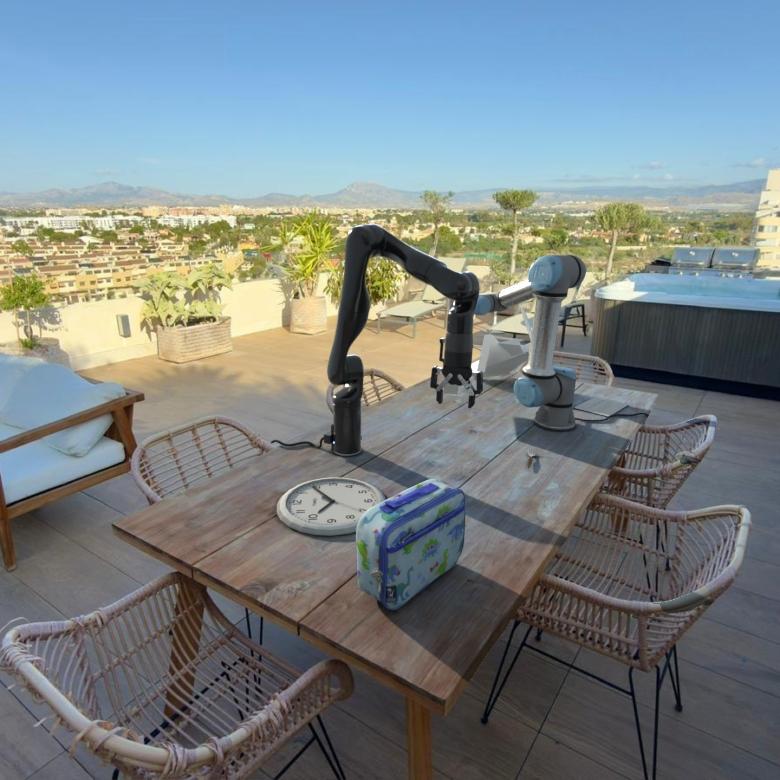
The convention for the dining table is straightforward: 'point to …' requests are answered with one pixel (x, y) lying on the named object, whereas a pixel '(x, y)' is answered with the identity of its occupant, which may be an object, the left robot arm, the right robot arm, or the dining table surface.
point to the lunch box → (409, 541)
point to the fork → (531, 456)
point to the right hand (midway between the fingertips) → (453, 377)
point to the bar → (450, 388)
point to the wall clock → (327, 505)
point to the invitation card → (601, 406)
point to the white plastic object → (502, 354)
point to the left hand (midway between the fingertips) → (455, 405)
